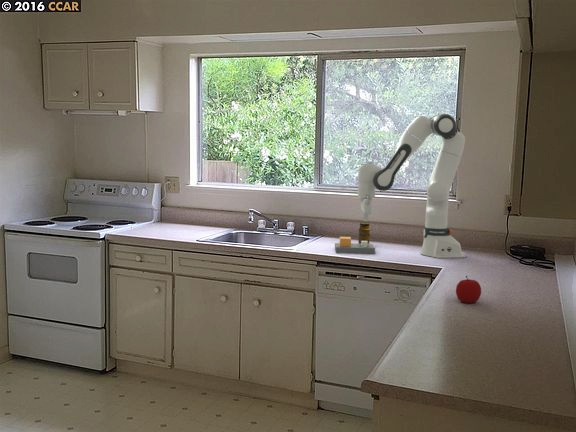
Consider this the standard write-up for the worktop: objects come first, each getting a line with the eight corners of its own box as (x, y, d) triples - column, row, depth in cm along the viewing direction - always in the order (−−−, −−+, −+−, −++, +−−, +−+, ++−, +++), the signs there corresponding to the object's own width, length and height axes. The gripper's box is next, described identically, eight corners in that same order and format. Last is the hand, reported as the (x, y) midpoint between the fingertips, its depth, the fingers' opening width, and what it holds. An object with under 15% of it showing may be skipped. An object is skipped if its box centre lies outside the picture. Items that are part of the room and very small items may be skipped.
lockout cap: (350, 244, 326) (350, 236, 325) (350, 246, 320) (351, 238, 319) (339, 244, 326) (339, 236, 325) (340, 246, 320) (340, 238, 320)
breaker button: (366, 250, 324) (367, 240, 324) (367, 251, 321) (367, 241, 321) (360, 250, 324) (361, 240, 324) (361, 251, 322) (361, 241, 321)
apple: (469, 306, 225) (471, 279, 224) (449, 300, 232) (451, 274, 231) (485, 303, 230) (487, 276, 229) (465, 297, 238) (467, 271, 236)
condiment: (372, 245, 342) (373, 223, 340) (362, 246, 336) (363, 225, 335) (362, 243, 347) (363, 222, 346) (352, 244, 341) (353, 223, 340)
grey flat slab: (372, 249, 329) (372, 242, 328) (374, 254, 317) (375, 247, 316) (334, 248, 329) (334, 241, 329) (335, 252, 317) (336, 246, 317)
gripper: (374, 196, 308) (374, 223, 310) (370, 192, 329) (369, 218, 331) (362, 196, 309) (361, 223, 310) (358, 192, 329) (358, 217, 331)
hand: (365, 220), depth 321 cm, fingers closed
